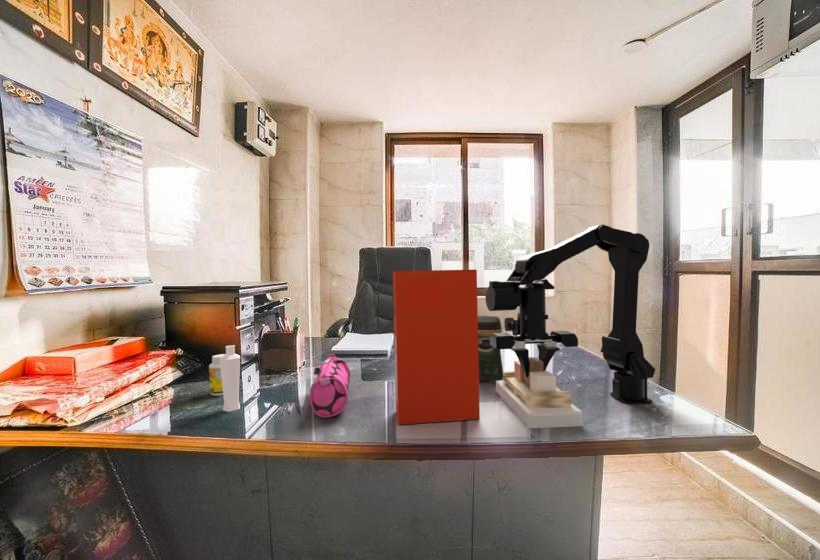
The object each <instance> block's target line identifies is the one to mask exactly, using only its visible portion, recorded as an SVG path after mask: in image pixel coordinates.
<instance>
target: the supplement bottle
mask: <svg viewBox="0 0 820 560" xmlns="http://www.w3.org/2000/svg"><path fill="white" fill-rule="evenodd" d="M225 355H226V353H220V354H216V355H211V356H212V357H211V363H210V364H209V365H208V373H209V377H208V378H209V393H210V395H211V396H215V397H219V396H223V387H222V378H221V369H220V360H219V359H220V358H221V357H223V356H225Z"/></svg>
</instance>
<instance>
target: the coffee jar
mask: <svg viewBox="0 0 820 560" xmlns="http://www.w3.org/2000/svg"><path fill="white" fill-rule="evenodd" d="M502 329H503V327H502V323H501V318H500V317H499V316H494V315H478V359H479V383H482V382H483V383H496V381H498V380H503V372H504V369H503V361H502V360H503V359H502V353H501V352H502V351H501V349H496V348H494V347H493V346H492V345H490V336H491V334H492V333H503V330H502Z"/></svg>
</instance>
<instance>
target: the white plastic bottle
mask: <svg viewBox="0 0 820 560" xmlns="http://www.w3.org/2000/svg"><path fill="white" fill-rule="evenodd" d="M224 347H225V354H226V355H225V356H223V357H221V358H220V359H219V360H220V369H221V378H222V387H223V395H222V396H223V407H222V411H224V412H228V413H229V412H230V413H231V412H234V411H237V410H240V409H241V404H240V401H239V398H240V397H239V396H240V394H239V393H240V372H241V371H240V370H241V355H239V354H237V353H235V351H236V350H235V349H236V348H235V347H236V345H234V344H232V345H231V344H230V345H226V346H224Z"/></svg>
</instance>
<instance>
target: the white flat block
mask: <svg viewBox="0 0 820 560" xmlns="http://www.w3.org/2000/svg"><path fill="white" fill-rule="evenodd" d="M495 393H496V394H497V393H498V394H499V395H500V396H499V395H498V394H497V395H498V396H499V398H501V399H502V400H503V401H504V403H505V402H506V403H507V404H508V405H507V404H506V403H505V404H506V405H507V406H508V407H509V408H510V409H511V410H512V412H513V413H514V414H515V415H516V416H517V417H518V418H519V420H520V421H521V422H522V423H523V424H524V425H525V426H526V427H527V428H528V429H529V430H530V429H550V428H569V427H570V428H574V427H583V411H582V410H581V409H579V408H578V407H577V406H576V405H574V404H573V403H571V407H555V408H532V409H529V408H528V407H527V406H526V405H525V401H524V400H523V399H522V398H521V397H520V396H516V395H515V394H514V393H513V389H512V388H511V387H510V386H505V385H504V384H503V379H502V380H498V381H496V382H495Z"/></svg>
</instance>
